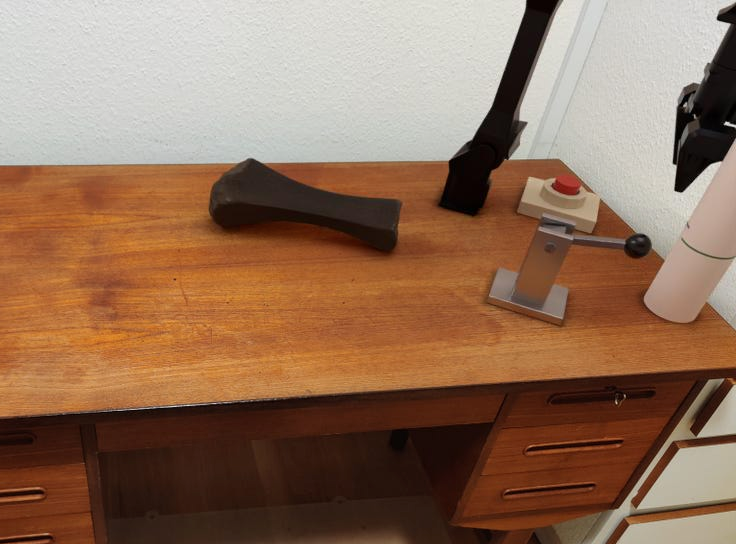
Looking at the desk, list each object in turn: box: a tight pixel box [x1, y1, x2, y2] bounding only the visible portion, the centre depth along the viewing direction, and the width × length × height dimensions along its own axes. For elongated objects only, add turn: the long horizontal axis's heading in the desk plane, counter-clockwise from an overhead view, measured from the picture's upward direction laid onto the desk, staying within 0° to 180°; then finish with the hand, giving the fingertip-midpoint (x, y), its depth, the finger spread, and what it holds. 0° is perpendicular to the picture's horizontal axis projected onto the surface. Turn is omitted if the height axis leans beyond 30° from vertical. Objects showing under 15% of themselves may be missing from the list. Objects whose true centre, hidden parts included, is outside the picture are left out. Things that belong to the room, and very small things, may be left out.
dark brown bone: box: [208, 157, 403, 251], centre depth 107 cm, size 11×10×28 cm
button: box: [552, 174, 582, 196], centre depth 119 cm, size 4×4×2 cm
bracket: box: [486, 213, 577, 326], centre depth 97 cm, size 10×8×12 cm
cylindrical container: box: [643, 139, 736, 324], centre depth 94 cm, size 7×7×25 cm
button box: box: [516, 176, 601, 234], centre depth 120 cm, size 12×10×4 cm
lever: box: [543, 225, 653, 260], centre depth 93 cm, size 13×3×3 cm, turn 66°
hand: (677, 177), depth 102 cm, fingers open, 9 cm apart
